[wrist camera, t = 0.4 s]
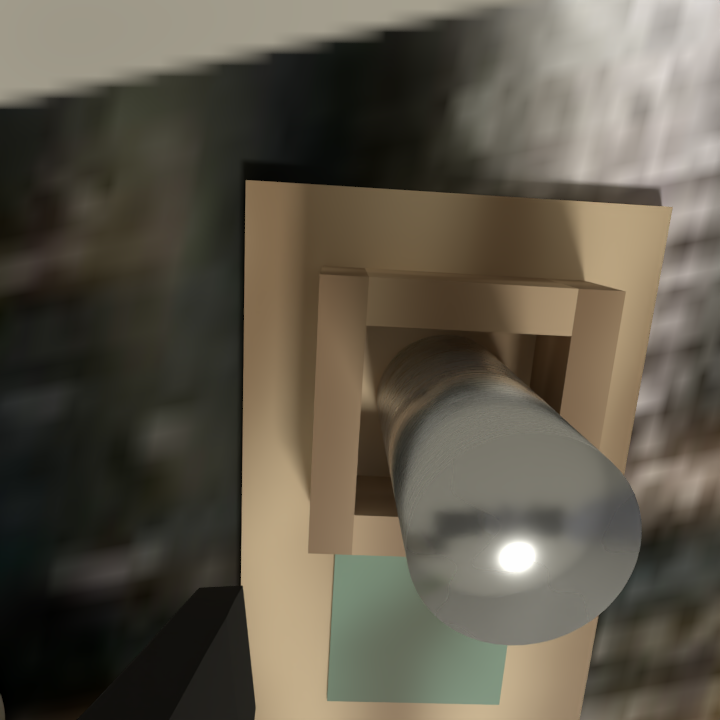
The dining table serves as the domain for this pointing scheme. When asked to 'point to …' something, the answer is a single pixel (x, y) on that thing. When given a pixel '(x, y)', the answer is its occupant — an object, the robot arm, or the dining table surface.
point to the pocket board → (364, 435)
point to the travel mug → (2, 709)
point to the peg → (500, 498)
